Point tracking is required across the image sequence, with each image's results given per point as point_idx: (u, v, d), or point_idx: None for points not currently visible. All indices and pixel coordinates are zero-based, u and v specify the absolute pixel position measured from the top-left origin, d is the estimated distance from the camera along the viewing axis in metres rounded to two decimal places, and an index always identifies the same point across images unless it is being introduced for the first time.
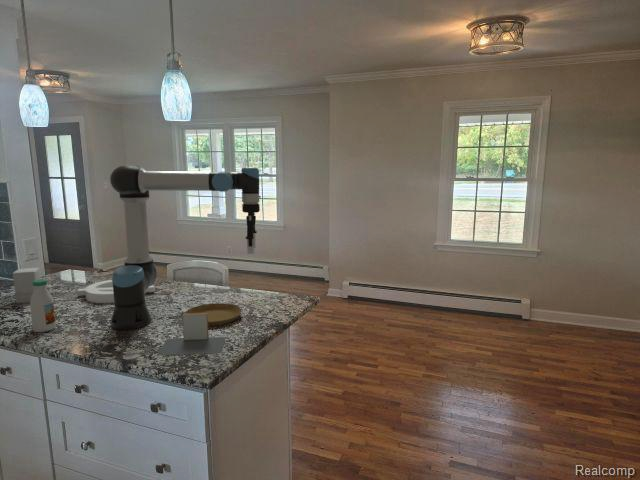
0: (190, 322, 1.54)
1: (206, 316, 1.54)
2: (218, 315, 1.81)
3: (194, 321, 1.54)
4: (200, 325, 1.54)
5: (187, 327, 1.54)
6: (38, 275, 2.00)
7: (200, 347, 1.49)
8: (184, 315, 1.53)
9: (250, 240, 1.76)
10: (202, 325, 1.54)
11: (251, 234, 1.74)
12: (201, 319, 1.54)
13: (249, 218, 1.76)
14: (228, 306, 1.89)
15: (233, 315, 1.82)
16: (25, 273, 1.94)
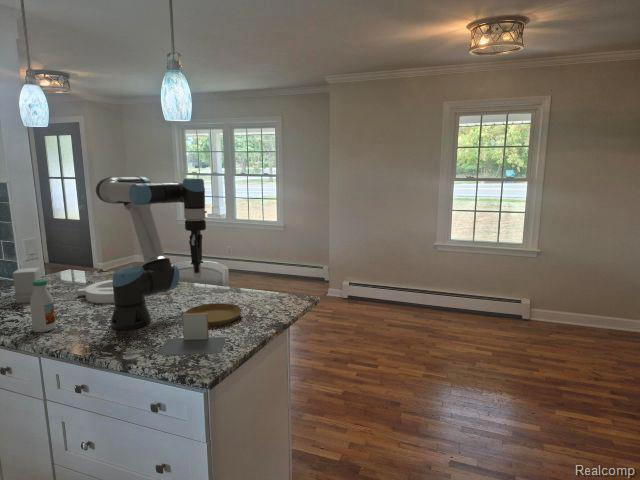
0: (190, 322, 1.54)
1: (206, 316, 1.54)
2: (218, 315, 1.81)
3: (194, 321, 1.54)
4: (200, 325, 1.54)
5: (187, 327, 1.54)
6: (38, 275, 2.00)
7: (200, 347, 1.49)
8: (184, 315, 1.53)
9: (196, 266, 1.56)
10: (202, 325, 1.54)
11: (196, 261, 1.54)
12: (201, 319, 1.54)
13: (192, 244, 1.51)
14: (228, 306, 1.89)
15: (233, 315, 1.82)
16: (25, 273, 1.94)
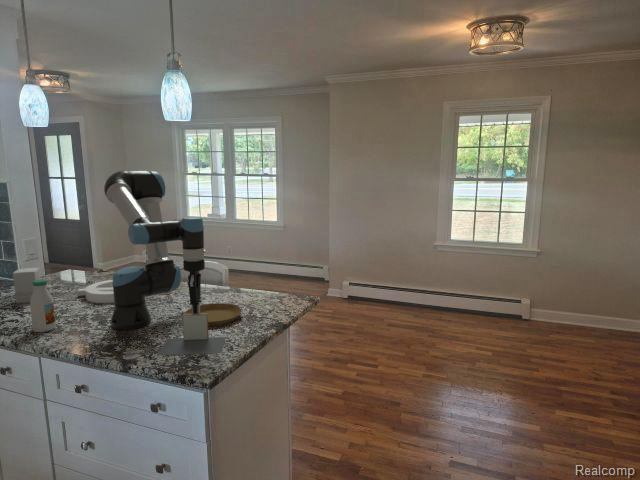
0: (190, 322, 1.54)
1: (206, 316, 1.54)
2: (218, 315, 1.81)
3: (194, 321, 1.54)
4: (200, 325, 1.54)
5: (187, 327, 1.54)
6: (38, 275, 2.00)
7: (200, 347, 1.49)
8: (184, 315, 1.53)
9: (195, 306, 1.53)
10: (202, 325, 1.54)
11: (195, 301, 1.51)
12: (201, 319, 1.54)
13: (190, 285, 1.48)
14: (228, 306, 1.89)
15: (233, 315, 1.82)
16: (25, 273, 1.94)
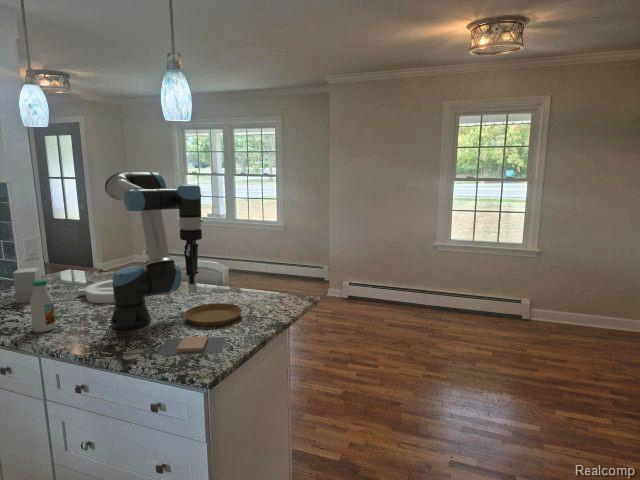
0: None
1: (202, 349, 1.47)
2: (218, 315, 1.81)
3: None
4: None
5: None
6: (38, 275, 2.00)
7: None
8: (179, 350, 1.45)
9: (191, 277, 1.49)
10: None
11: (191, 272, 1.46)
12: None
13: (187, 254, 1.43)
14: (228, 306, 1.89)
15: (233, 315, 1.82)
16: (25, 273, 1.94)
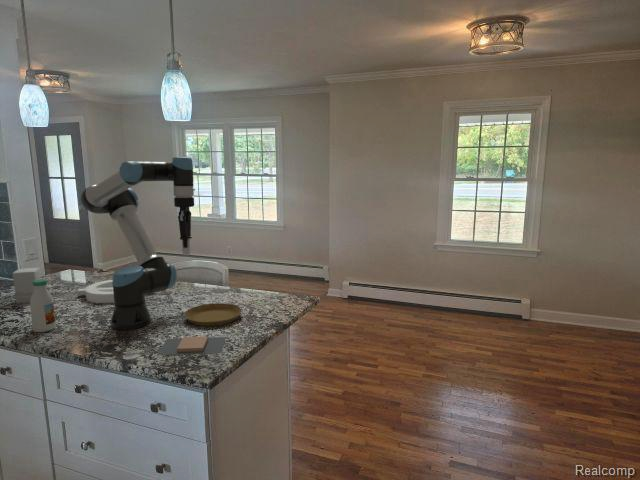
0: None
1: (202, 349, 1.47)
2: (218, 315, 1.81)
3: None
4: None
5: None
6: (38, 275, 2.00)
7: None
8: (179, 350, 1.45)
9: (185, 241, 1.64)
10: None
11: (185, 235, 1.62)
12: None
13: (180, 219, 1.59)
14: (228, 306, 1.89)
15: (233, 315, 1.82)
16: (25, 273, 1.94)
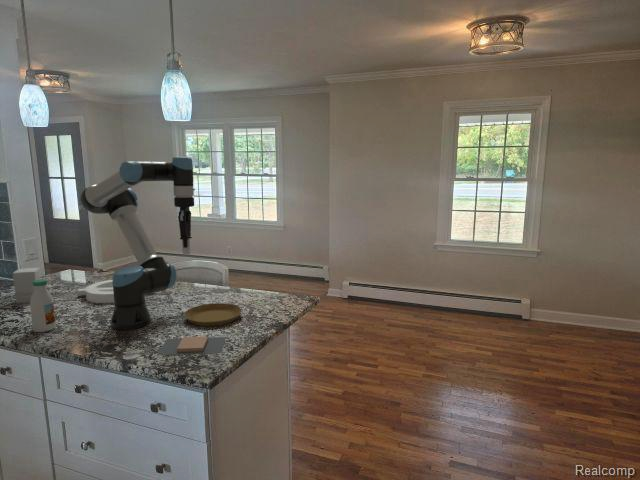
0: None
1: (202, 349, 1.47)
2: (218, 315, 1.81)
3: None
4: None
5: None
6: (38, 275, 2.00)
7: None
8: (179, 350, 1.45)
9: (185, 241, 1.65)
10: None
11: (185, 235, 1.62)
12: None
13: (180, 219, 1.59)
14: (228, 306, 1.89)
15: (233, 315, 1.82)
16: (25, 273, 1.94)
